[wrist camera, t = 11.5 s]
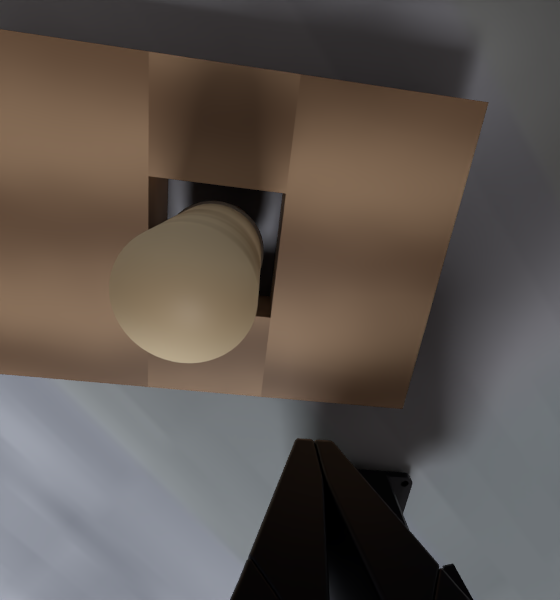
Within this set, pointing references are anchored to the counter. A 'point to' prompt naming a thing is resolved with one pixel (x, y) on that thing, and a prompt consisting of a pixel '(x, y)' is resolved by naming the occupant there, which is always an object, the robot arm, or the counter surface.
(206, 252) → the birch peg
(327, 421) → the counter surface
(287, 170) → the walnut board
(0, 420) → the counter surface
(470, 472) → the counter surface
